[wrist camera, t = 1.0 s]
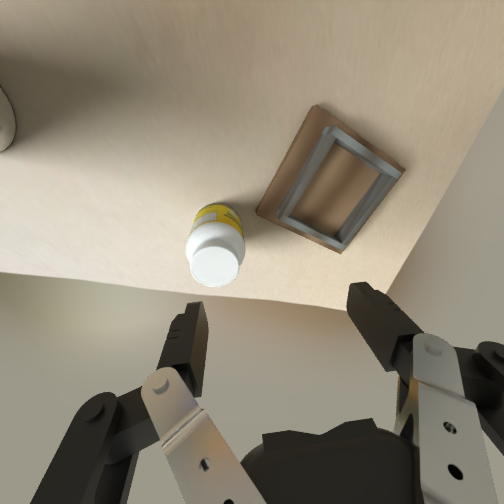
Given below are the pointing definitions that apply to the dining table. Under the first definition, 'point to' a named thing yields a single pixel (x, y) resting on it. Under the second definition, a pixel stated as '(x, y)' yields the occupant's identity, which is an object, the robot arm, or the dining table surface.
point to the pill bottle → (215, 245)
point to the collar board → (328, 182)
